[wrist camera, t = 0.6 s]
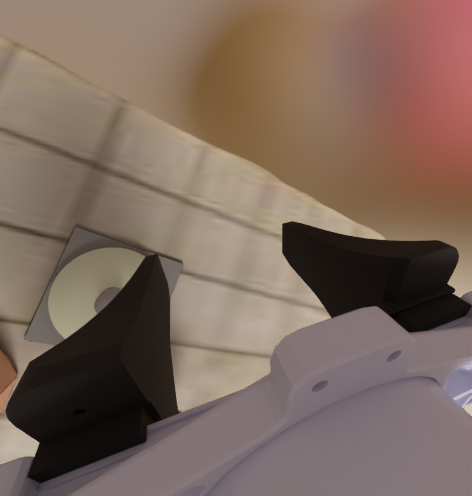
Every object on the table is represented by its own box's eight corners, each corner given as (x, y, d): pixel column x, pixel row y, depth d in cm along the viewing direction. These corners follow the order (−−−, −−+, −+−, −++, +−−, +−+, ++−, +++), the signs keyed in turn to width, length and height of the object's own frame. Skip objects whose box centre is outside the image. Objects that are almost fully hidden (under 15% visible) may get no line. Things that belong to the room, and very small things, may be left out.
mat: (146, 358, 31) (147, 359, 31) (25, 338, 26) (23, 339, 25) (182, 263, 33) (183, 263, 33) (76, 227, 28) (75, 226, 27)
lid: (144, 355, 31) (145, 370, 27) (31, 336, 26) (12, 351, 22) (178, 266, 32) (183, 268, 29) (78, 232, 27) (68, 229, 24)
